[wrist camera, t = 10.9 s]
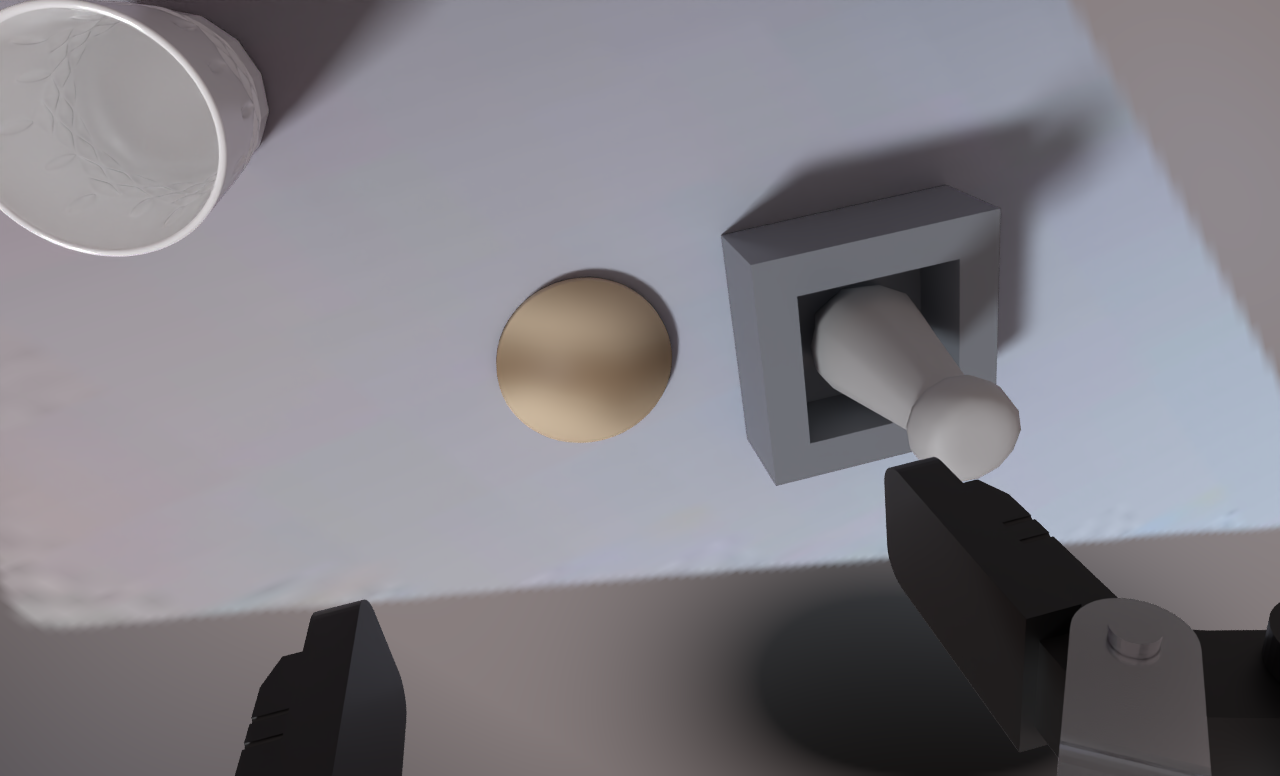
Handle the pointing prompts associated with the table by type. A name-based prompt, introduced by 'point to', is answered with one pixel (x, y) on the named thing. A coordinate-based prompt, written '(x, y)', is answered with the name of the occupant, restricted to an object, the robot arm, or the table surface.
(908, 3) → the table surface
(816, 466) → the well
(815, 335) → the salt shaker
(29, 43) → the white cup
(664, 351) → the cork coaster
